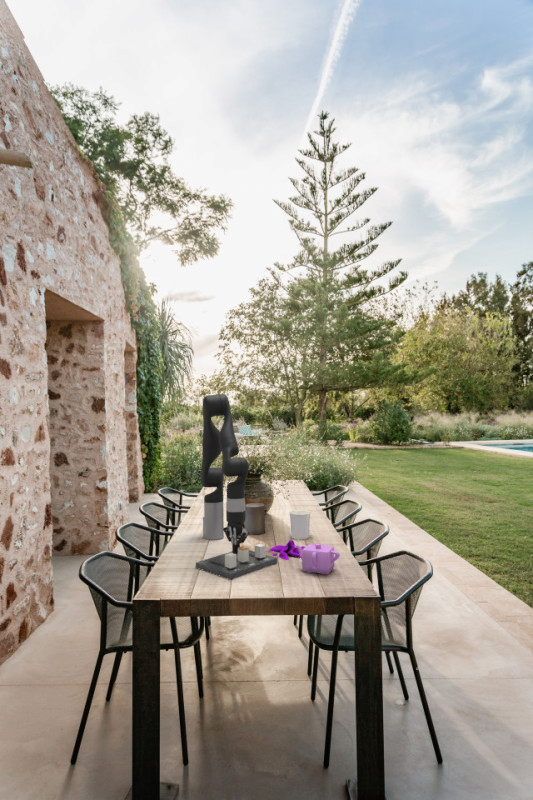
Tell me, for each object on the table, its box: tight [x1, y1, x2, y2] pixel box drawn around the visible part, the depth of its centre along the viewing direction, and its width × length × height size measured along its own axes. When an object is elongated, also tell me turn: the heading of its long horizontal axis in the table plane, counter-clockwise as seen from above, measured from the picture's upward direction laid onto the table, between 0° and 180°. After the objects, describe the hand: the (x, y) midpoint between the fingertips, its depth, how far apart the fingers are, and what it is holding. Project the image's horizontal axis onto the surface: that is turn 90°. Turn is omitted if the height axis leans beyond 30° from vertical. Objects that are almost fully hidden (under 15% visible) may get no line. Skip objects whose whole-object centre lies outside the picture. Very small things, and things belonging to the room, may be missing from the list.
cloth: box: [268, 539, 306, 561], centre depth 204 cm, size 22×19×6 cm
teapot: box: [294, 543, 340, 576], centre depth 183 cm, size 18×14×10 cm
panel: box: [195, 549, 278, 580], centre depth 189 cm, size 20×25×2 cm
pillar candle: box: [245, 501, 266, 535], centre depth 240 cm, size 10×10×15 cm
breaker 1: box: [224, 552, 236, 569], centre depth 180 cm, size 3×3×4 cm
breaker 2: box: [254, 543, 267, 558], centre depth 192 cm, size 3×3×4 cm
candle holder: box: [289, 509, 311, 540], centre depth 229 cm, size 10×10×12 cm
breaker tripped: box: [238, 545, 250, 562], centre depth 187 cm, size 3×3×5 cm
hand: (236, 553), depth 189 cm, fingers closed
